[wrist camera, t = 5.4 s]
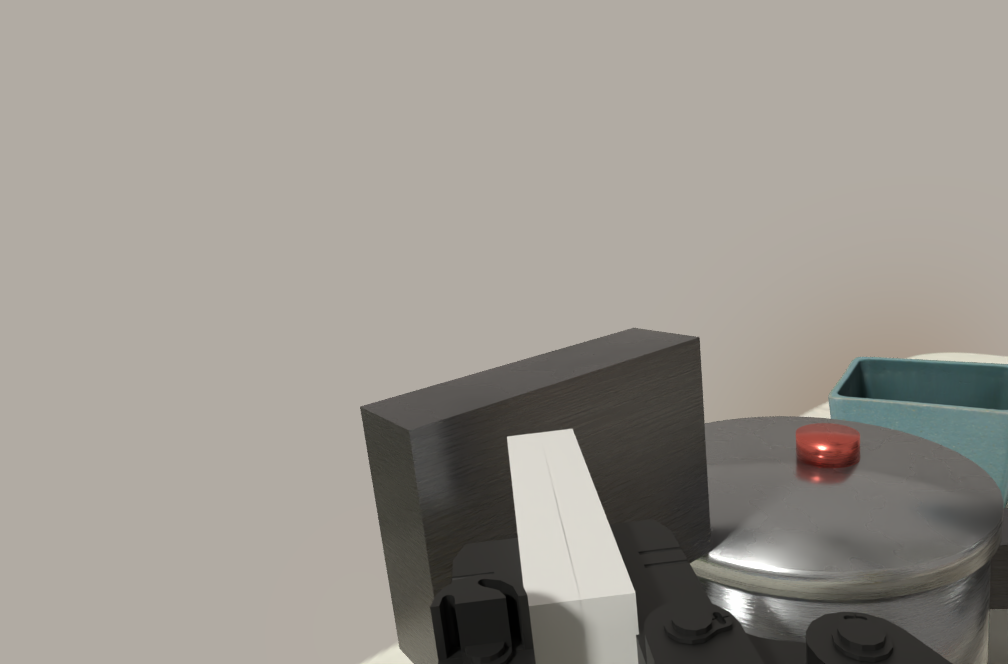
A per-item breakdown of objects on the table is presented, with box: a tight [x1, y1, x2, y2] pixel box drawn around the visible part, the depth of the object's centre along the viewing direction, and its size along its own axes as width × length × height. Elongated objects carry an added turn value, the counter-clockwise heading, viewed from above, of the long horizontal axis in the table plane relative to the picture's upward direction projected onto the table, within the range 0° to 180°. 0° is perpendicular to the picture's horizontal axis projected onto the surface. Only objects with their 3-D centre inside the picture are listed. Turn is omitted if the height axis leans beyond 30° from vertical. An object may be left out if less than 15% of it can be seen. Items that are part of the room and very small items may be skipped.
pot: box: [696, 508, 1008, 664], centre depth 29 cm, size 26×13×8 cm, turn 80°
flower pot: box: [828, 357, 1008, 508], centre depth 40 cm, size 9×9×9 cm
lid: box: [360, 328, 1004, 664], centre depth 24 cm, size 23×14×8 cm, turn 125°
